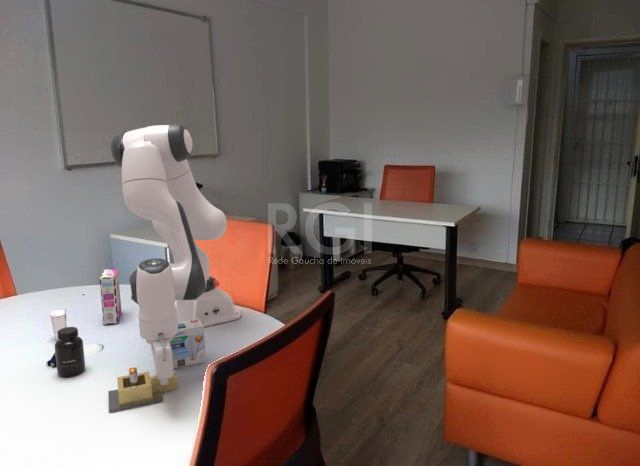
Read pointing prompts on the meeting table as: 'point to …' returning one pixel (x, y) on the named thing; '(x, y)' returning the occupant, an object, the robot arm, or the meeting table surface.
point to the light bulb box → (188, 344)
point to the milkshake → (58, 321)
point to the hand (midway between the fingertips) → (163, 378)
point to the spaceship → (52, 361)
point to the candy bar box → (110, 296)
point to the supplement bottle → (69, 352)
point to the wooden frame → (142, 388)
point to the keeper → (116, 407)
